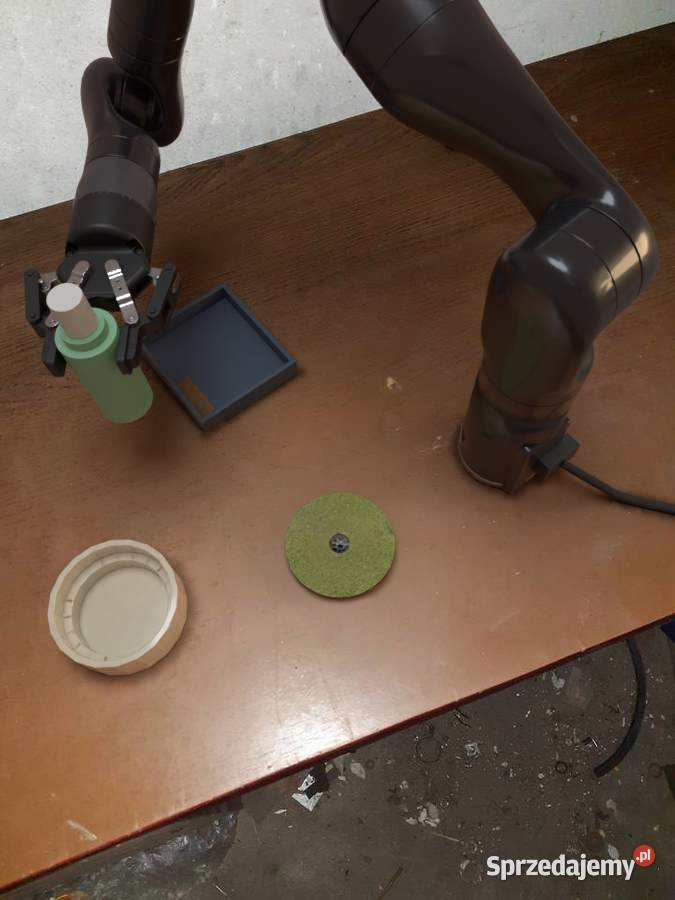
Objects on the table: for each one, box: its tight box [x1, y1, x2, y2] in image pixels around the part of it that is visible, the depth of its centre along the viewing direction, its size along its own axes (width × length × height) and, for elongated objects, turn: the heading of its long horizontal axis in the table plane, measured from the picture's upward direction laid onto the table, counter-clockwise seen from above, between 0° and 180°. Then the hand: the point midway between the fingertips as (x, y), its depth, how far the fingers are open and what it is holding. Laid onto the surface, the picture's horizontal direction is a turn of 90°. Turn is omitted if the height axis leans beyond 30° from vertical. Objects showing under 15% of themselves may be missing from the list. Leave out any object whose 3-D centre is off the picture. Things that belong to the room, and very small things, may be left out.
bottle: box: [46, 283, 154, 424], centre depth 60 cm, size 5×5×16 cm
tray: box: [141, 282, 299, 433], centre depth 82 cm, size 15×13×2 cm
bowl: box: [46, 539, 189, 676], centre depth 68 cm, size 12×12×5 cm
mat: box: [284, 492, 396, 598], centre depth 71 cm, size 11×11×2 cm
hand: (89, 370), depth 58 cm, fingers closed on bottle, 5 cm apart
